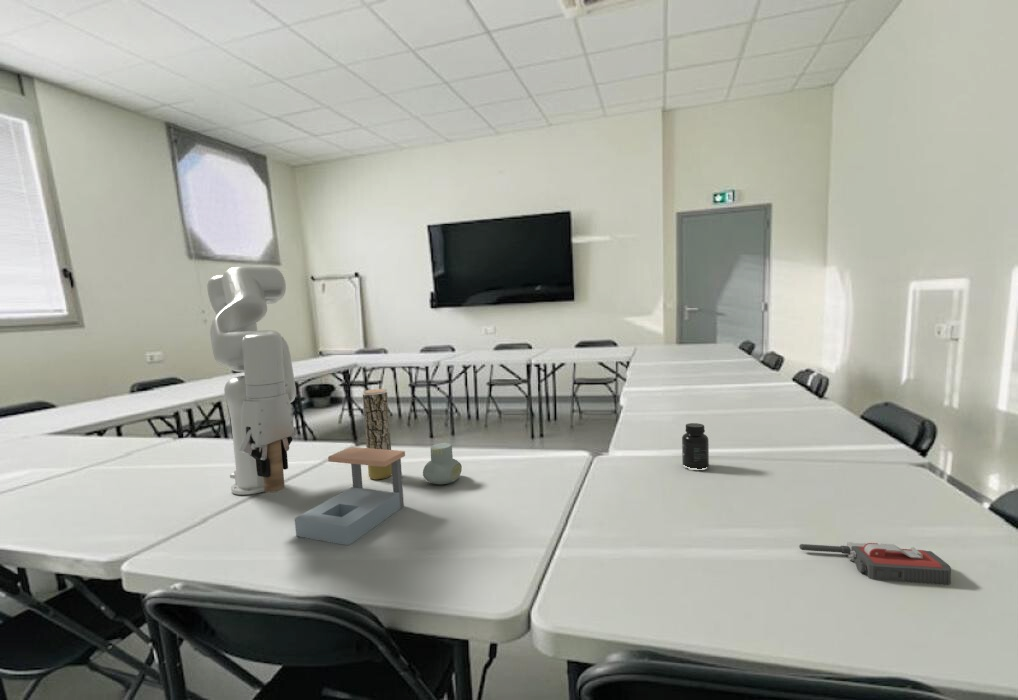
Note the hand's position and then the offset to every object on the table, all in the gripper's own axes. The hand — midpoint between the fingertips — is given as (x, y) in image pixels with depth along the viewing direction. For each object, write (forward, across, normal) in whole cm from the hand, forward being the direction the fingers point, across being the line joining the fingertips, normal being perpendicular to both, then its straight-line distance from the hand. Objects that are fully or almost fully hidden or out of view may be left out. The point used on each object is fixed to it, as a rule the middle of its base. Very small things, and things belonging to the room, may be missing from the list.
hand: (273, 471), depth 102 cm
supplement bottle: (+12, -62, +87) cm, 108 cm away
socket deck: (+13, -7, +14) cm, 20 cm away
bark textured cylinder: (+14, -34, +2) cm, 37 cm away
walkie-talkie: (+10, -18, +114) cm, 116 cm away
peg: (+4, 0, 0) cm, 4 cm away
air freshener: (+13, -35, +22) cm, 44 cm away
